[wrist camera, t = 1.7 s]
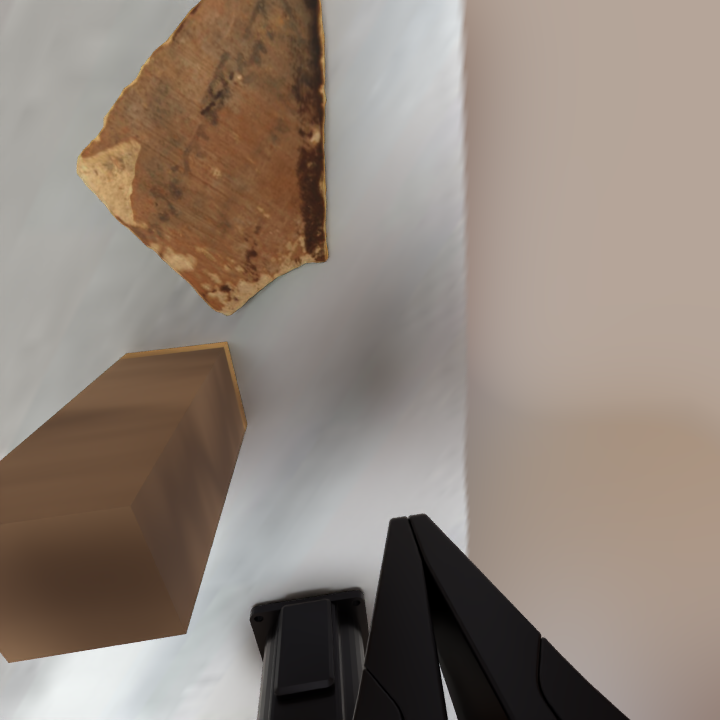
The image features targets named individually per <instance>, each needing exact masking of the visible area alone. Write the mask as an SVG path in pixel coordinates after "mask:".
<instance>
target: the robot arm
mask: <svg viewBox="0 0 720 720" xmlns="http://www.w3.org/2000/svg"><path fill="white" fill-rule="evenodd" d="M250 622H251V626H252V629H253V632H254V635H255V638H256V641H257V644H258V648H259V651H260V654H261V657H262V660H263V669H262V678H261V687H260V696H259V705H258V715H257V720H448V717H447V710H446V704H445V698H444V691H443V685H442V679H441V672H440V667H441V670H442V673H443V676H444V679H445V682H446V685H447V688H448V691H449V694H450V697H451V700H452V703H453V706H454V709H455V712H456V715H457V718H458V720H630V719H629V718H628V717H626V716H625V715H624V714H623V713H622V712H621V711H619V709H617V708H616V707H615V706H614V705H613V704H612V703H611V702H610V701H609V700H608V699H607V698H605V697H604V696H603V695H602V694H601V693H600V692H599V691H598V690H597V689H595V688H594V687H593V686H592V685H591V684H590V683H589V682H588V681H587V680H586V679H585V678H584V677H583V676H582V675H581V674H580V673H579V672H578V671H577V670H576V669H575V668H574V667H573V666H572V665H571V664H570V663H569V662H568V661H567V660H566V659H565V658H564V657H563V656H562V655H561V654H560V653H559V652H558V651H557V650H556V649H555V648H554V647H553V646H552V645H551V644H550V643H549V642H548V641H547V639H546V638H543V637H542V638H541V634H540V632H539V631H537V630H536V628H535V627H534V626H533V625H532V624H531V623H530V622H529V621H528V620H527V619H526V618H525V617H524V616H523V615H522V614H521V613H520V612H519V611H518V610H517V608H516V607H514V605H513V604H512V603H511V602H510V601H509V600H508V599H507V598H506V597H505V596H504V595H503V594H502V593H501V592H500V591H499V590H498V589H497V588H496V587H495V586H494V585H493V584H492V582H491V581H490V580H488V578H487V577H486V576H485V575H484V574H483V573H482V572H481V571H480V570H479V569H478V568H477V567H476V566H475V565H474V564H473V563H472V562H471V561H470V560H469V559H468V557H467V556H466V555H465V554H464V553H463V552H462V551H461V550H460V549H459V548H458V547H457V546H456V545H455V544H454V543H453V542H452V541H451V540H450V539H449V538H448V537H447V536H446V535H445V534H444V533H443V531H442V530H441V529H440V528H439V527H438V526H437V525H436V524H435V523H434V522H433V521H432V520H431V519H430V518H429V517H428V516H427V515H426V514H417V515H410V516H409V517H408V518H407V517H406V516H403V517H397V518H392V519H391V520H390V522H389V527H388V533H387V538H386V544H385V549H384V555H383V560H382V566H381V571H380V577H379V582H378V588H377V593H376V599H375V604H374V610H373V615H372V621H371V626H370V632H369V631H368V623H367V615H366V607H365V599H364V594H363V592H361V591H358V590H355V591H348V592H342V593H336V594H330V595H324V596H317V597H311V598H305V599H299V600H293V601H286V602H280V603H274V604H268V605H262V606H257V607H254V608H253V609H252V610H251V614H250ZM439 664H440V666H439Z"/></svg>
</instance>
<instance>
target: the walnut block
mask: <svg viewBox="0 0 720 720" xmlns="http://www.w3.org/2000/svg"><path fill="white" fill-rule="evenodd" d="M246 427H247V421H246V417H245V413H244V409H243V405H242V401H241V397H240V392H239V388H238V384H237V380H236V376H235V372H234V368H233V364H232V360H231V356H230V352H229V347H228V343H227V342H220V343H212V344H203V345H195V346H186V347H178V348H169V349H161V350H152V351H144V352H135V353H127V354H125V355H124V356H123V357H121V358H120V359H119V360H118V361H117V362H116V363H114V364H113V365H112V366H111V367H110V368H109V369H107V370H106V371H105V372H104V373H103V374H102V375H100V376H99V377H98V378H97V379H96V380H95V381H93V382H92V383H91V384H90V385H89V386H87V387H86V388H85V389H84V390H83V391H82V392H80V393H79V394H78V395H77V396H76V397H75V398H73V399H72V400H71V401H70V402H69V403H68V404H66V405H65V406H64V407H63V408H62V409H61V410H59V411H58V412H57V413H56V414H55V415H54V416H52V417H51V418H50V419H49V420H48V421H46V422H45V423H44V424H43V425H42V426H41V427H39V428H38V429H37V430H36V431H35V432H34V433H32V434H31V435H30V436H29V437H28V438H27V439H25V440H24V441H23V442H22V443H21V444H20V445H18V446H17V447H16V448H15V449H14V450H13V451H11V452H10V453H9V454H8V455H7V456H5V457H4V458H3V459H2V460H1V461H0V652H1V654H2V655H3V656H4V658H5V659H6V660H7V661H8V663H11V662H18V661H24V660H30V659H36V658H42V657H48V656H54V655H60V654H67V653H73V652H79V651H85V650H91V649H97V648H103V647H109V646H115V645H122V644H128V643H134V642H140V641H146V640H152V639H158V638H164V637H171V636H177V635H183V634H186V633H187V629H188V626H189V622H190V619H191V616H192V612H193V609H194V605H195V602H196V598H197V595H198V592H199V588H200V585H201V581H202V578H203V574H204V571H205V568H206V564H207V561H208V557H209V554H210V550H211V547H212V544H213V540H214V537H215V533H216V530H217V527H218V523H219V520H220V516H221V513H222V509H223V506H224V503H225V499H226V496H227V492H228V489H229V485H230V482H231V479H232V475H233V472H234V468H235V465H236V461H237V458H238V455H239V451H240V448H241V444H242V441H243V437H244V434H245V431H246Z"/></svg>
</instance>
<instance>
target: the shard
mask: <svg viewBox="0 0 720 720" xmlns="http://www.w3.org/2000/svg"><path fill="white" fill-rule="evenodd" d="M324 42H325V38H324V31H323V24H322V9H321V1H320V0H201V1H200V2H199V3H198V4H197V5H196V6H195V7H194V8H192V9H191V10H190V11H189V13H188V14H187V15H186V17H185V18H184V19H183V20H182V22H181V23H180V24H179V26H178V27H177V28H176V30H175V31H174V32H173V33H172V35H171V36H170V37H169V38H168V40H167V41H166V42H165V43H163V44H162V45H161V46H160V47H158V48H157V49H156V50H155V51H154V52H153V53H152V55H151V56H150V57H149V58H148V60H147V61H146V63H145V64H144V65H143V66H142V67H141V69H140V72H139V74H138V76H137V78H136V79H135V80H134V81H133V82H132V83H131V84H130V85H128V86H127V87H125V88H124V89H123V91H122V93H121V95H120V96H119V98H118V99H117V101H116V102H115V104H114V105H113V106H112V108H111V109H110V111H109V112H108V113H107V115H106V116H105V117H104V127H103V128H102V130H101V131H100V133H99V134H98V136H97V137H96V138H95V139H94V140H92V141H91V142H90V144H89V145H88V146H87V147H86V148H85V149H84V150H83V151H82V152H81V154H80V155H79V156H78V160H77V174H78V175H79V177H80V178H81V179H82V180H83V181H84V183H85V185H86V186H87V187H88V188H89V189H90V190H91V191H92V192H93V193H95V194H96V195H97V197H98V198H99V199H100V200H101V201H102V202H103V203H104V204H105V205H106V207H107V208H108V209H109V211H110V212H111V214H112V215H113V216H114V217H115V218H116V219H117V220H118V221H119V222H120V223H121V224H123V225H124V226H125V227H127V228H128V229H129V230H130V231H131V232H132V233H133V234H135V235H136V236H137V237H138V238H139V239H140V240H141V241H142V242H143V243H144V244H145V245H146V246H147V247H149V248H151V249H153V250H154V251H155V252H156V253H157V254H158V255H159V256H160V258H161V259H162V260H163V261H165V262H166V263H167V264H168V265H169V266H170V267H171V268H172V269H173V270H175V271H176V272H177V273H178V274H179V275H180V276H181V277H183V278H184V279H185V280H186V281H187V282H188V283H189V284H190V285H191V286H192V287H193V288H194V289H195V291H196V292H197V293H198V295H199V296H200V297H201V298H202V299H203V300H204V301H205V302H206V303H207V304H208V305H209V306H210V307H211V308H212V309H214V310H215V311H216V312H220V313H222V314H224V315H226V316H229V315H232V314H233V313H234V312H236V311H237V310H238V309H239V308H241V307H242V306H243V305H244V304H245V303H246V302H247V301H248V299H249V298H251V297H252V296H254V295H255V294H256V293H257V292H259V291H260V290H262V289H263V288H264V287H265V286H266V285H267V284H269V283H270V282H272V281H273V280H274V279H276V278H277V277H278V276H281V275H283V274H285V273H287V272H289V271H291V270H293V269H295V268H298V267H299V266H301V265H303V264H305V263H311V262H315V263H321V262H326V261H327V259H328V248H327V244H326V237H327V235H326V226H325V221H326V196H325V195H326V184H325V153H324V143H325V140H324V123H325V104H326V95H325V90H324V85H325V50H324Z"/></svg>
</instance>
